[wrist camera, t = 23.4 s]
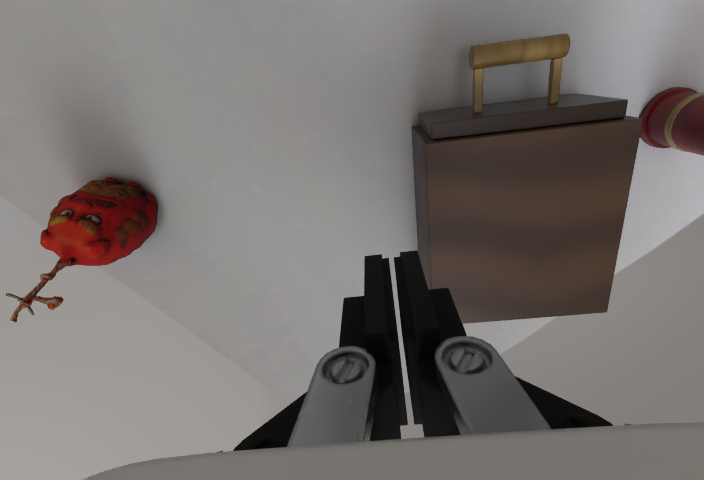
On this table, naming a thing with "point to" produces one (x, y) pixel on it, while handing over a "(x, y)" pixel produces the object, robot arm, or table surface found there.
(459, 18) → the table surface
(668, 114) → the red cylinder
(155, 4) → the table surface
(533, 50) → the drawer
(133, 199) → the red clay folk toy
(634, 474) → the robot arm
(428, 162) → the cabinet
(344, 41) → the table surface
